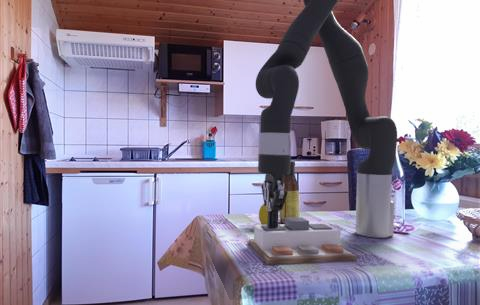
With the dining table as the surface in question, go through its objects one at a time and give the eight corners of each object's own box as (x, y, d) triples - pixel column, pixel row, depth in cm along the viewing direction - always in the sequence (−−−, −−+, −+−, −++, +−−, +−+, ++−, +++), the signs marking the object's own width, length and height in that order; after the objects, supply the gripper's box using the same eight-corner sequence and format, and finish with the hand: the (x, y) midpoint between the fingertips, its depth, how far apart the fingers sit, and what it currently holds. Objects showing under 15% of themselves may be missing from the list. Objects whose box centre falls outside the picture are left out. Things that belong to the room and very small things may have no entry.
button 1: (323, 239, 87) (323, 223, 86) (331, 244, 82) (331, 227, 82) (306, 240, 86) (307, 224, 86) (313, 245, 81) (314, 228, 81)
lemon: (276, 231, 100) (276, 203, 100) (257, 229, 101) (257, 202, 101) (278, 227, 105) (278, 200, 105) (259, 225, 106) (260, 199, 106)
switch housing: (324, 239, 89) (325, 223, 89) (340, 247, 81) (340, 230, 81) (253, 241, 85) (254, 224, 85) (262, 250, 77) (263, 232, 77)
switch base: (323, 240, 91) (324, 231, 91) (356, 260, 75) (356, 249, 75) (248, 243, 87) (249, 233, 87) (267, 264, 71) (267, 253, 71)
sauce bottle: (301, 222, 113) (303, 161, 112) (294, 225, 107) (295, 161, 107) (283, 219, 116) (285, 160, 116) (275, 223, 111) (276, 160, 111)
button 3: (278, 241, 84) (279, 224, 84) (284, 246, 80) (285, 228, 80) (260, 241, 83) (261, 225, 83) (266, 246, 79) (266, 229, 79)
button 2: (301, 233, 85) (301, 217, 85) (308, 238, 81) (309, 221, 81) (284, 234, 84) (284, 217, 84) (290, 238, 80) (291, 221, 80)
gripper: (300, 153, 76) (298, 233, 76) (280, 152, 89) (278, 220, 89) (267, 153, 74) (264, 234, 74) (252, 152, 87) (250, 221, 87)
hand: (272, 226), depth 81 cm, fingers closed
